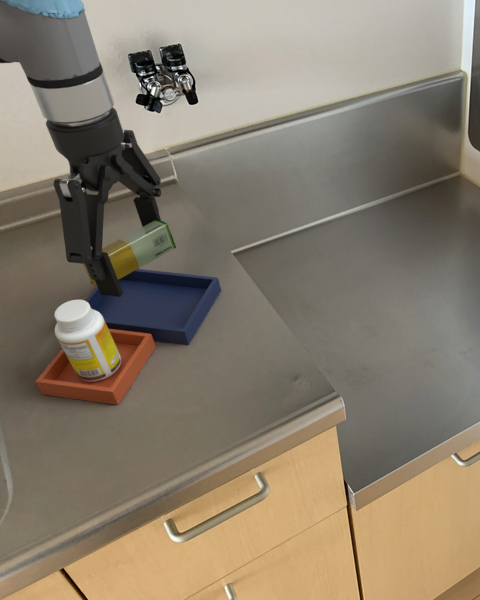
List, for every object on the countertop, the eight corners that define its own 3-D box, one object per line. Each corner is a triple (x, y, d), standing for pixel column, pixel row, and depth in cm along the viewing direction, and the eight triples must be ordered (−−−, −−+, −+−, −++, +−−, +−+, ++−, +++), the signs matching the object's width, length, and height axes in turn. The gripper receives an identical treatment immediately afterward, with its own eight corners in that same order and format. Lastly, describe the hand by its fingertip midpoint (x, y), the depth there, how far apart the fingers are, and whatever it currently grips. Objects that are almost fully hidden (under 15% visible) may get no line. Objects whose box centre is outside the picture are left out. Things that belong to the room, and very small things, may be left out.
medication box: (166, 242, 88) (157, 217, 85) (177, 247, 86) (169, 222, 84) (90, 284, 80) (78, 258, 78) (101, 290, 79) (90, 264, 76)
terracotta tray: (43, 394, 77) (35, 381, 75) (87, 338, 84) (80, 325, 83) (118, 405, 76) (112, 391, 74) (156, 346, 83) (151, 333, 81)
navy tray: (76, 331, 85) (69, 317, 84) (118, 278, 94) (113, 265, 92) (188, 344, 83) (184, 331, 82) (221, 290, 92) (218, 277, 90)
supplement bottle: (112, 346, 82) (86, 288, 76) (129, 368, 79) (104, 310, 73) (70, 367, 80) (39, 309, 73) (87, 391, 77) (56, 333, 70)
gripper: (104, 71, 78) (150, 213, 93) (-22, 161, 60) (59, 321, 75) (159, 74, 77) (197, 218, 92) (47, 167, 60) (116, 328, 74)
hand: (135, 264), depth 83 cm, fingers closed on medication box, 12 cm apart
